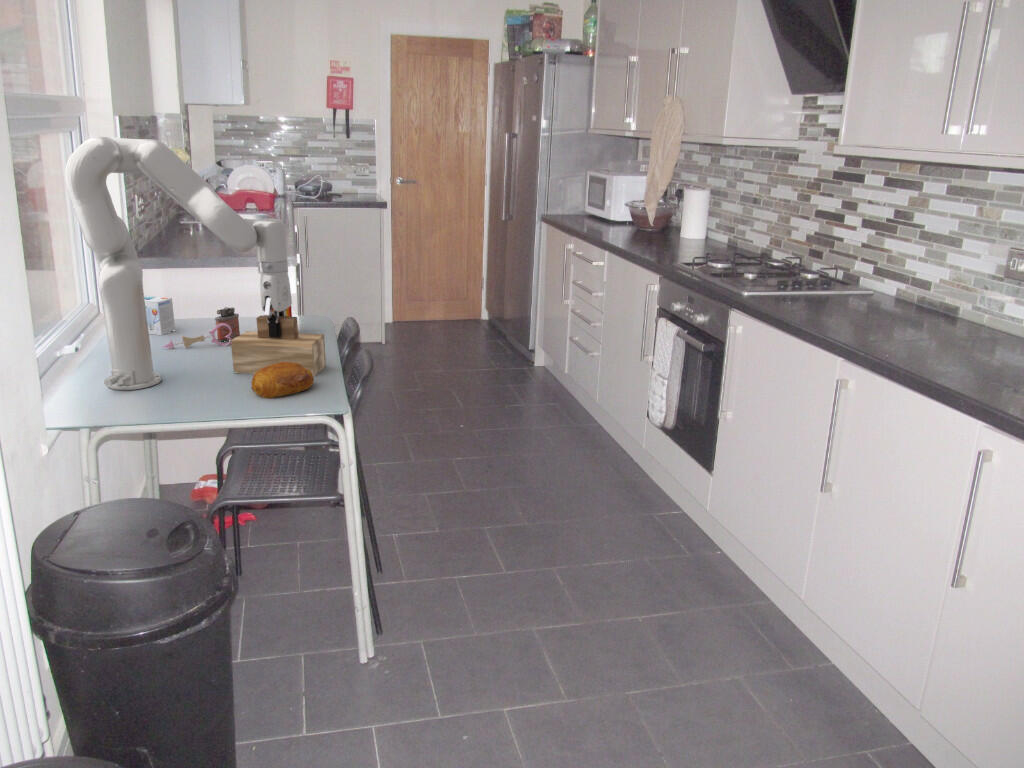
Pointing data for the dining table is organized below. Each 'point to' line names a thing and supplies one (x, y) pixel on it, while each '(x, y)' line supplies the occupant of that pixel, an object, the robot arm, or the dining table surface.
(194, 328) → the dining table surface
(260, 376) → the croissant
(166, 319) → the light bulb box
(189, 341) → the decorative key
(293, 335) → the wooden block with riser
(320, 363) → the open wooden crate
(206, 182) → the robot arm
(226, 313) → the lighter
